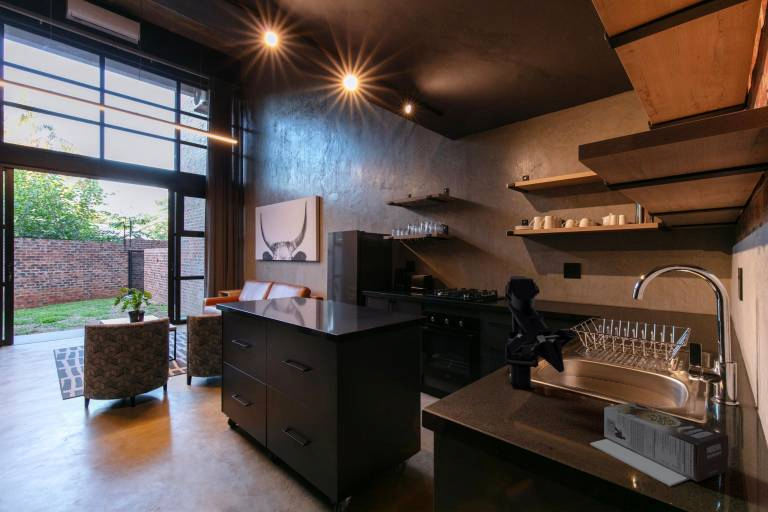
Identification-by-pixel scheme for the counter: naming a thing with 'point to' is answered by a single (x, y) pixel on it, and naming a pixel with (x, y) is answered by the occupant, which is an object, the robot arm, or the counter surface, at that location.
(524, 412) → the counter surface
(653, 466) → the grey mat
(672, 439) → the coffee box
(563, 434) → the counter surface
